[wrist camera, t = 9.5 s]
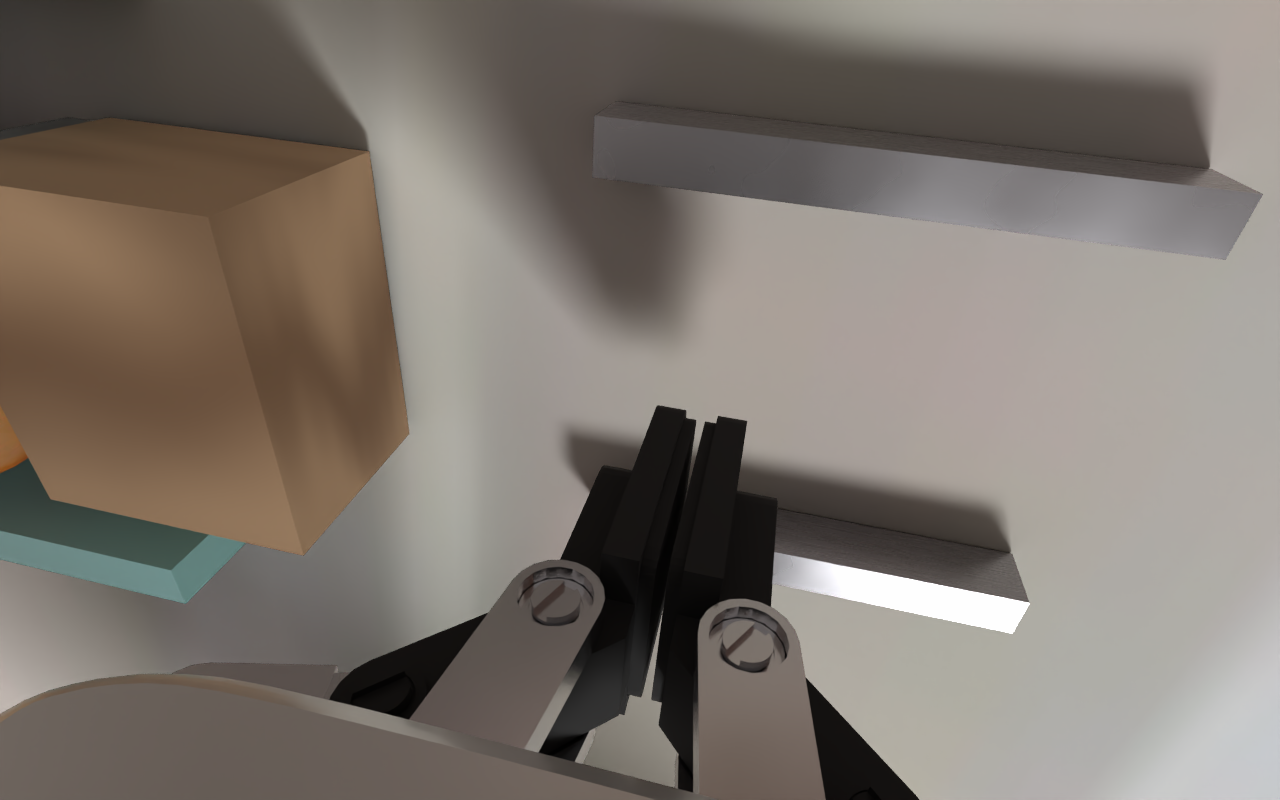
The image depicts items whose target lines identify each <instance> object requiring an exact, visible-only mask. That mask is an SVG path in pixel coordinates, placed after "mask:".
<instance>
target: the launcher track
mask: <svg viewBox="0 0 1280 800" xmlns="http://www.w3.org/2000/svg"><path fill="white" fill-rule="evenodd" d="M592 177H594V178H602V179H609V180H617V181H625V182H632V183H640V184H648V185H655V186H663V187H671V188H678V189H686V190H694V191H701V192H709V193H717V194H724V195H732V196H740V197H747V198H755V199H763V200H770V201H778V202H786V203H793V204H801V205H809V206H816V207H824V208H832V209H839V210H847V211H855V212H863V213H870V214H878V215H886V216H893V217H901V218H909V219H916V220H924V221H932V222H939V223H947V224H955V225H962V226H970V227H978V228H985V229H993V230H1001V231H1008V232H1016V233H1024V234H1031V235H1039V236H1047V237H1054V238H1062V239H1070V240H1077V241H1085V242H1093V243H1100V244H1108V245H1116V246H1123V247H1131V248H1139V249H1147V250H1154V251H1162V252H1170V253H1177V254H1185V255H1193V256H1200V257H1208V258H1216V259H1223V260H1226V258H1227V256H1228V255H1229V253H1230V251H1231V249H1232V248H1233V246H1234V244H1235V242H1236V241H1237V239H1238V237H1239V235H1240V234H1241V232H1242V230H1243V228H1244V227H1245V225H1246V223H1247V221H1248V220H1249V218H1250V216H1251V214H1252V213H1253V211H1254V209H1255V207H1256V206H1257V204H1258V202H1259V200H1260V199H1261V197H1262V195H1263V194H1262V193H1260V192H1257V191H1255V190H1253V189H1251V188H1249V187H1247V186H1245V185H1243V184H1241V183H1239V182H1237V181H1235V180H1233V179H1231V178H1229V177H1227V176H1225V175H1223V174H1221V173H1219V172H1217V171H1214V170H1212V169H1205V168H1196V167H1188V166H1179V165H1170V164H1161V163H1153V162H1144V161H1135V160H1126V159H1117V158H1109V157H1100V156H1091V155H1082V154H1074V153H1065V152H1056V151H1047V150H1038V149H1030V148H1021V147H1012V146H1003V145H995V144H986V143H977V142H968V141H959V140H951V139H942V138H933V137H924V136H916V135H907V134H898V133H889V132H880V131H872V130H863V129H854V128H845V127H836V126H828V125H819V124H810V123H801V122H793V121H784V120H775V119H766V118H757V117H749V116H740V115H731V114H722V113H714V112H705V111H696V110H687V109H678V108H670V107H661V106H652V105H643V104H635V103H626V102H617V101H616V102H614V103H613V104H611V105H610V106H608V107H607V108H605V109H604V110H602V111H601V112H599V113H598V114H596V115H595V116H594V142H593V174H592ZM687 492H688V491H687ZM687 492H686V496H687ZM685 500H686V499H685ZM772 584H777V585H781V586H786V587H791V588H796V589H801V590H806V591H810V592H815V593H820V594H825V595H830V596H835V597H839V598H844V599H849V600H854V601H859V602H863V603H868V604H873V605H878V606H883V607H888V608H892V609H897V610H902V611H907V612H912V613H917V614H921V615H926V616H931V617H936V618H941V619H946V620H950V621H955V622H960V623H965V624H970V625H974V626H979V627H984V628H989V629H994V630H999V631H1003V632H1008V633H1013V631H1014V630H1015V628H1016V626H1017V624H1018V623H1019V621H1020V619H1021V617H1022V616H1023V614H1024V612H1025V610H1026V609H1027V607H1028V605H1029V600H1028V598H1027V595H1026V592H1025V589H1024V586H1023V583H1022V580H1021V577H1020V575H1019V572H1018V569H1017V566H1016V563H1015V560H1014V557H1013V555H1012V554H1011V553H1005V552H1000V551H995V550H990V549H985V548H979V547H974V546H969V545H964V544H959V543H953V542H948V541H943V540H938V539H932V538H927V537H922V536H917V535H912V534H906V533H901V532H896V531H891V530H886V529H880V528H875V527H870V526H865V525H860V524H854V523H849V522H844V521H839V520H833V519H828V518H823V517H818V516H813V515H807V514H802V513H797V512H792V511H787V510H781V509H777V520H776V535H775V550H774V565H773V581H772Z"/></svg>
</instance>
